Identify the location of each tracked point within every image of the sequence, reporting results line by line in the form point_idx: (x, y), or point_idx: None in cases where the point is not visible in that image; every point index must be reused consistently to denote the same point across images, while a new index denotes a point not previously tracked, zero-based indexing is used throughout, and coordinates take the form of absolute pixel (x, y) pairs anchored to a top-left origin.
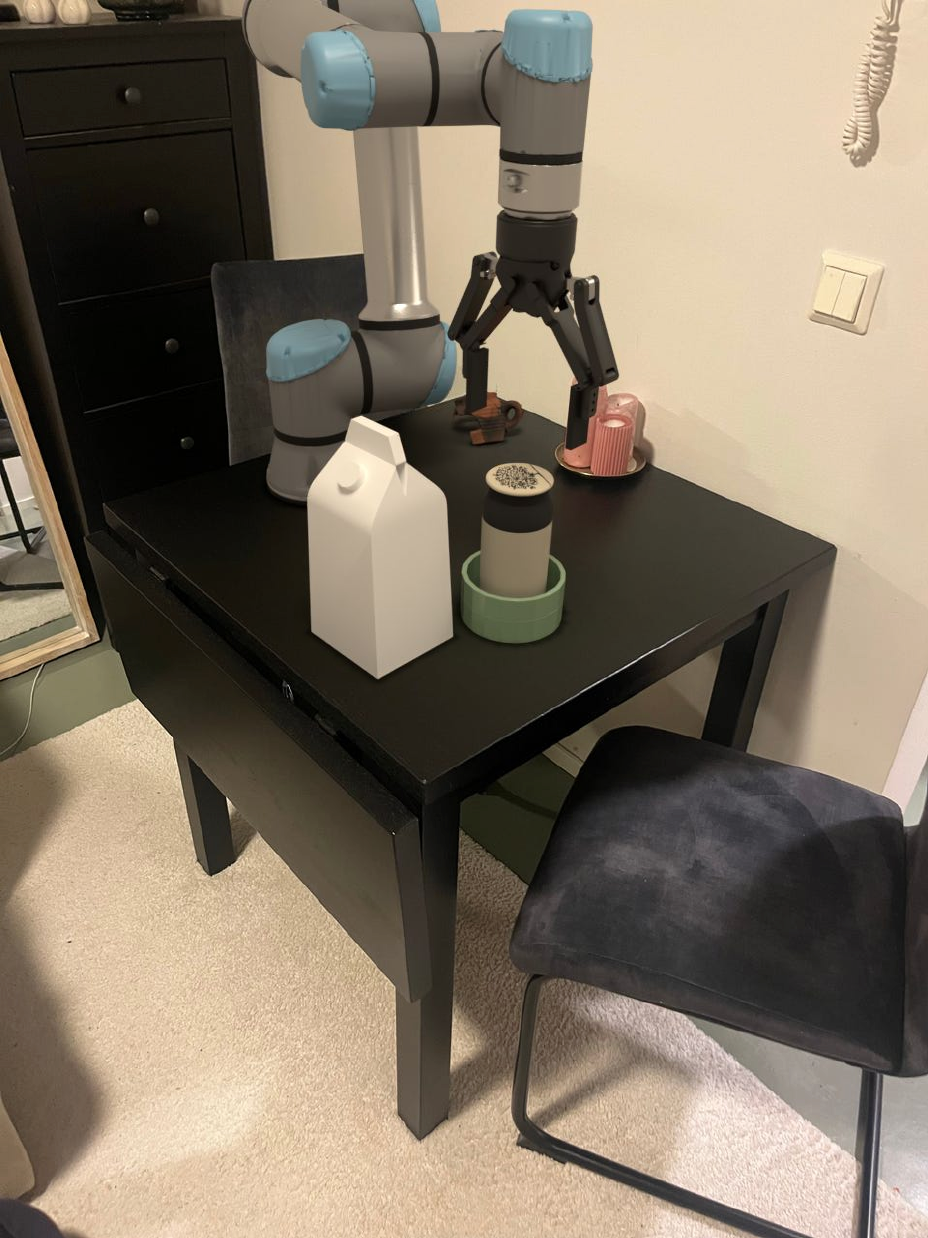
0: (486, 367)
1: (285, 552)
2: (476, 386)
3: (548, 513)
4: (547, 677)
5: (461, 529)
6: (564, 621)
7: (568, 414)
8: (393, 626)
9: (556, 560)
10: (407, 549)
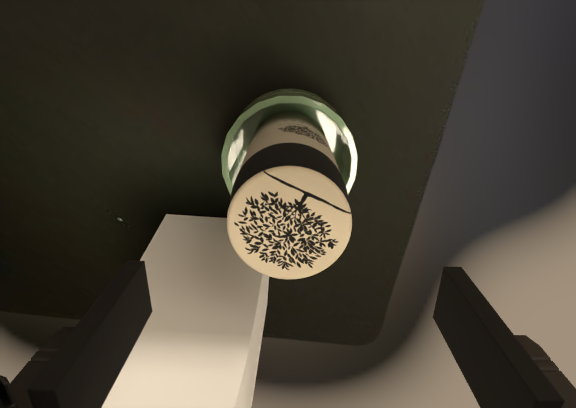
0: (94, 344)
1: (21, 229)
2: (123, 341)
3: (347, 199)
4: (384, 208)
5: (97, 30)
6: (346, 118)
7: (468, 383)
8: (263, 316)
9: (315, 103)
10: (254, 360)
